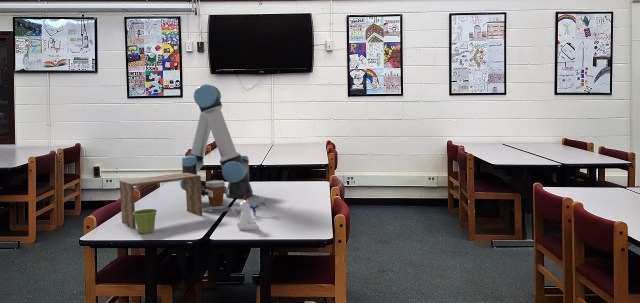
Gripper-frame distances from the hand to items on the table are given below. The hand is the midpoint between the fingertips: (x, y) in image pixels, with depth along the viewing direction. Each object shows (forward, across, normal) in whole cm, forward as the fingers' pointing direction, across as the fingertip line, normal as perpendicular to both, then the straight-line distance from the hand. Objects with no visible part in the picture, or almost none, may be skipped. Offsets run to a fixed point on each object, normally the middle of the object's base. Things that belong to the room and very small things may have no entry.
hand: (220, 192), depth 225 cm
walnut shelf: (-5, +27, -9) cm, 29 cm away
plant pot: (+12, +41, -9) cm, 44 cm away
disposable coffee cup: (-5, 0, -7) cm, 9 cm away
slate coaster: (-4, 0, -9) cm, 10 cm away
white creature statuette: (+38, +9, -9) cm, 40 cm away
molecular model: (+20, -4, -9) cm, 22 cm away
